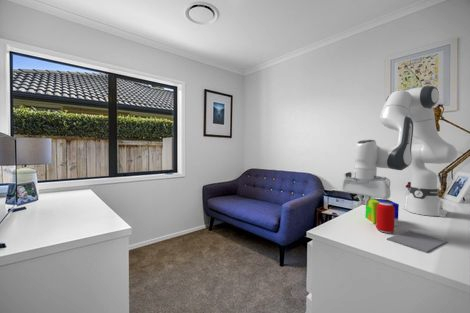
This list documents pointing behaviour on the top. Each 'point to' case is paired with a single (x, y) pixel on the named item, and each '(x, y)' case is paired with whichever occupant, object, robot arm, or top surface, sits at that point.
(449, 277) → the top surface
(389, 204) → the beverage can
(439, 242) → the mat
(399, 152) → the robot arm
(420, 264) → the top surface
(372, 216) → the puzzle toy
